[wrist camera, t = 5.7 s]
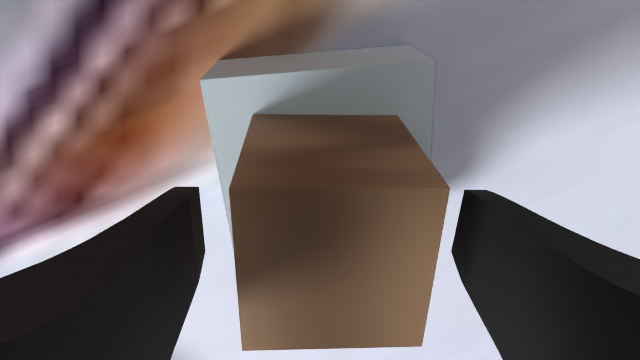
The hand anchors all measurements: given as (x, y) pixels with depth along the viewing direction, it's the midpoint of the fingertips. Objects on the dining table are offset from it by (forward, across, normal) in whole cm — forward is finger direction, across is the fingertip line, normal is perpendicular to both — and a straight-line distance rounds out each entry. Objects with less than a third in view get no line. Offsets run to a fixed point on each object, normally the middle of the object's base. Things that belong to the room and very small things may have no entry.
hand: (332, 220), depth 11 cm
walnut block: (+3, 0, 0) cm, 3 cm away
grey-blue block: (+6, 0, 0) cm, 6 cm away
